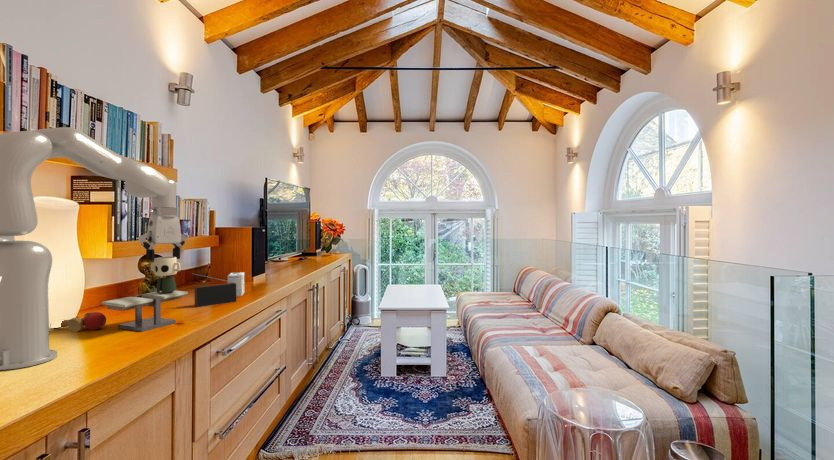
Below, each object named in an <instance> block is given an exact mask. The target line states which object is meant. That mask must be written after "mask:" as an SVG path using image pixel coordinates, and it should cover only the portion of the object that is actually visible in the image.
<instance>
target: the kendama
mask: <svg viewBox="0 0 834 460" xmlns="http://www.w3.org/2000/svg"><path fill="white" fill-rule="evenodd" d="M63 320H64V321H62V323H61V327H63V328H68V330H69V331H71V332H73V333H77V332H81V331H82V330H83V329H84V327H85V328H86V329H87V330H90V331H97V330H101V329H102V328H103V327H105V325H106V323H107V317H106V315H105V314H104V313H102V312H99V311H93V312H87V313H85V314H84V316H82V317H81V318H80V317H72V318H70V319H63Z"/></svg>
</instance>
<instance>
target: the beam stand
mask: <svg viewBox="0 0 834 460" xmlns="http://www.w3.org/2000/svg"><path fill="white" fill-rule="evenodd" d="M134 297H140V298H142V297H143V296H142V294H136V295H134ZM161 316H162V315H161V303H160V297H154V307H153V316H152V317H145V318H143V307H139V308H134V318H135V319H134V321H129V322H124V323H120V324H118V329H122V330H128V331H134V332H141V333H142V332H143V333H144V332H147V331H150V330H154V329H158V328H162V327H165V326H169V325H174V324H176V323H177V320H176V319H174V318H172V319H171V318H165V317H161Z"/></svg>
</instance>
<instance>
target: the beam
mask: <svg viewBox="0 0 834 460" xmlns="http://www.w3.org/2000/svg"><path fill="white" fill-rule="evenodd" d="M188 294H189V291H183V290H175V291H172V292H171V293H170V292H167V293H162V291H160V293H157V290H156V291H153V292H152V291H151V292H146V293H143V294H141V295H142V298H140V297H135V296H125V297H121V298H115V299H110V300H106V301H101V305H105V306H107V308H106V309H107V310H111V311H112V310H113V311H120V312H124V311H129V310H135V308H139V307H142V308H143V307H153V308H154V297H160V304H161V303H166V302H171V301H175V300H179V299H183V298H184V295H188Z"/></svg>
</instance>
